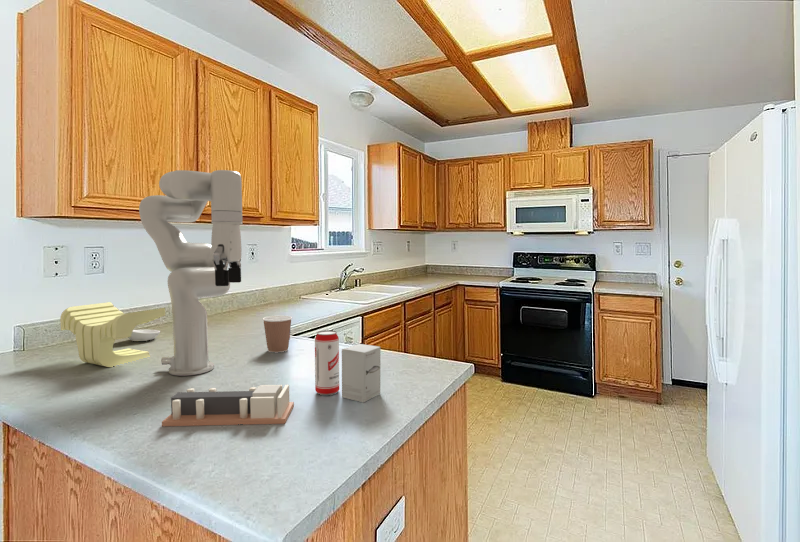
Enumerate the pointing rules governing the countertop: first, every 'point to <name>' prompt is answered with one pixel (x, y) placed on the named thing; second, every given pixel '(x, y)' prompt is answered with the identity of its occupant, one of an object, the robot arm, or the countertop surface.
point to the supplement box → (360, 372)
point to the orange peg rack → (259, 414)
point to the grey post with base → (223, 400)
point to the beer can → (327, 362)
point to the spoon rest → (143, 335)
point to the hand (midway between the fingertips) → (228, 284)
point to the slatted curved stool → (105, 331)
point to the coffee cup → (277, 333)
